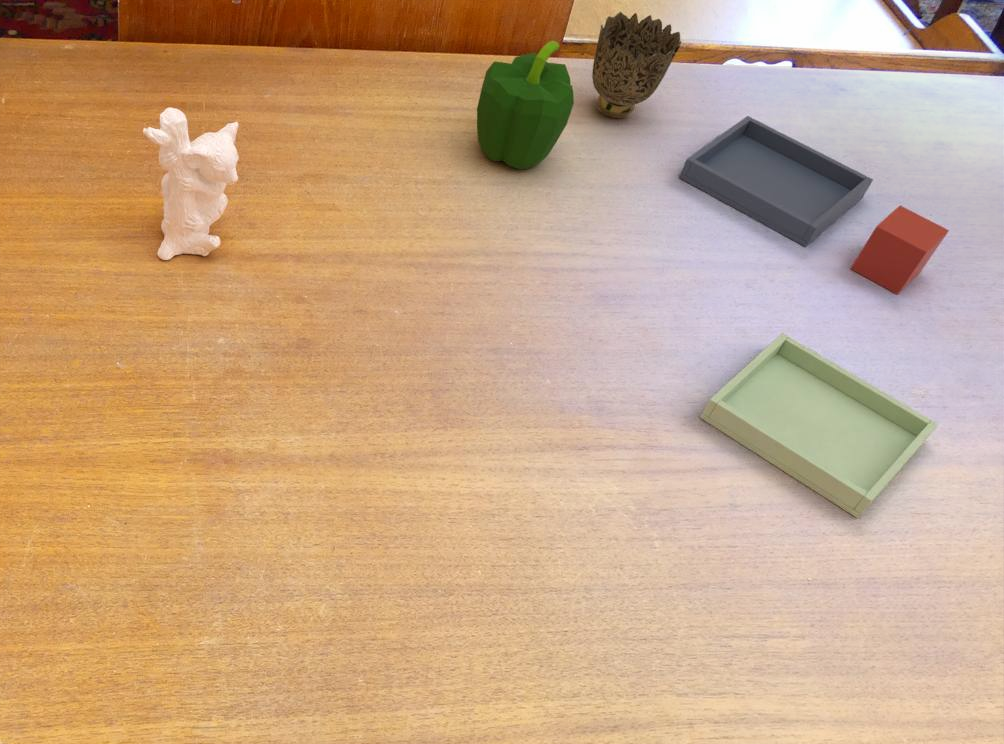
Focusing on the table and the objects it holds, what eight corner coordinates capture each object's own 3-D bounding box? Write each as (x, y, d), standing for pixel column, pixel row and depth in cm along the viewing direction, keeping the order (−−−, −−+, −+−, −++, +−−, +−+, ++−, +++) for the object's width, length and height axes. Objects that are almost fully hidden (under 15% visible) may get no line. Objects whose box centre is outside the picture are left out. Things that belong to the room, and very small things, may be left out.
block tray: (862, 198, 103) (873, 179, 102) (805, 247, 98) (816, 228, 97) (739, 134, 108) (747, 115, 107) (678, 177, 103) (686, 158, 102)
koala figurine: (159, 278, 90) (159, 145, 80) (125, 229, 93) (122, 96, 83) (251, 252, 92) (263, 121, 83) (215, 206, 96) (222, 75, 86)
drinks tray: (924, 442, 85) (939, 424, 83) (857, 518, 79) (872, 500, 78) (771, 351, 90) (782, 332, 88) (699, 417, 84) (709, 399, 83)
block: (920, 272, 97) (949, 230, 94) (897, 294, 95) (926, 252, 92) (872, 247, 99) (900, 204, 95) (849, 268, 97) (876, 225, 93)
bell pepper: (503, 189, 100) (534, 86, 92) (450, 141, 104) (475, 37, 96) (574, 167, 103) (610, 64, 95) (520, 120, 107) (549, 18, 99)
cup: (595, 81, 112) (622, 2, 106) (662, 109, 110) (694, 30, 104) (563, 112, 109) (588, 32, 102) (632, 141, 106) (662, 62, 100)
